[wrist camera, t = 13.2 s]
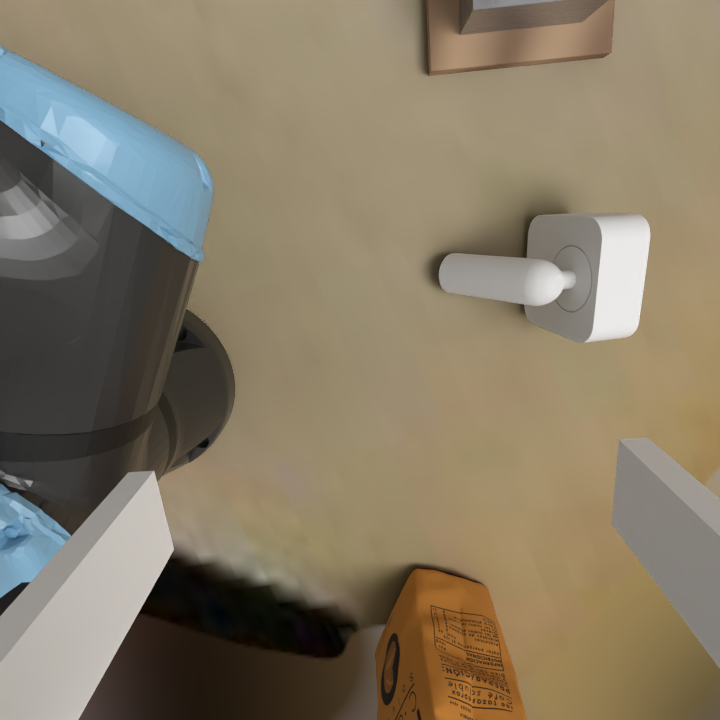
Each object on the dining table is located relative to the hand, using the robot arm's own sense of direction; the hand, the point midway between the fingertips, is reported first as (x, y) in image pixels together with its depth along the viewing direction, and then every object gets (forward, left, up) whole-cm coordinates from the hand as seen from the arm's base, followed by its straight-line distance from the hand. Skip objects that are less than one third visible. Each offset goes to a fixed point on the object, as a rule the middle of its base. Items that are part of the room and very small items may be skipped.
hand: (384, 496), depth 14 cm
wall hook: (+11, +2, -27) cm, 29 cm away
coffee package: (+3, -32, -27) cm, 42 cm away
